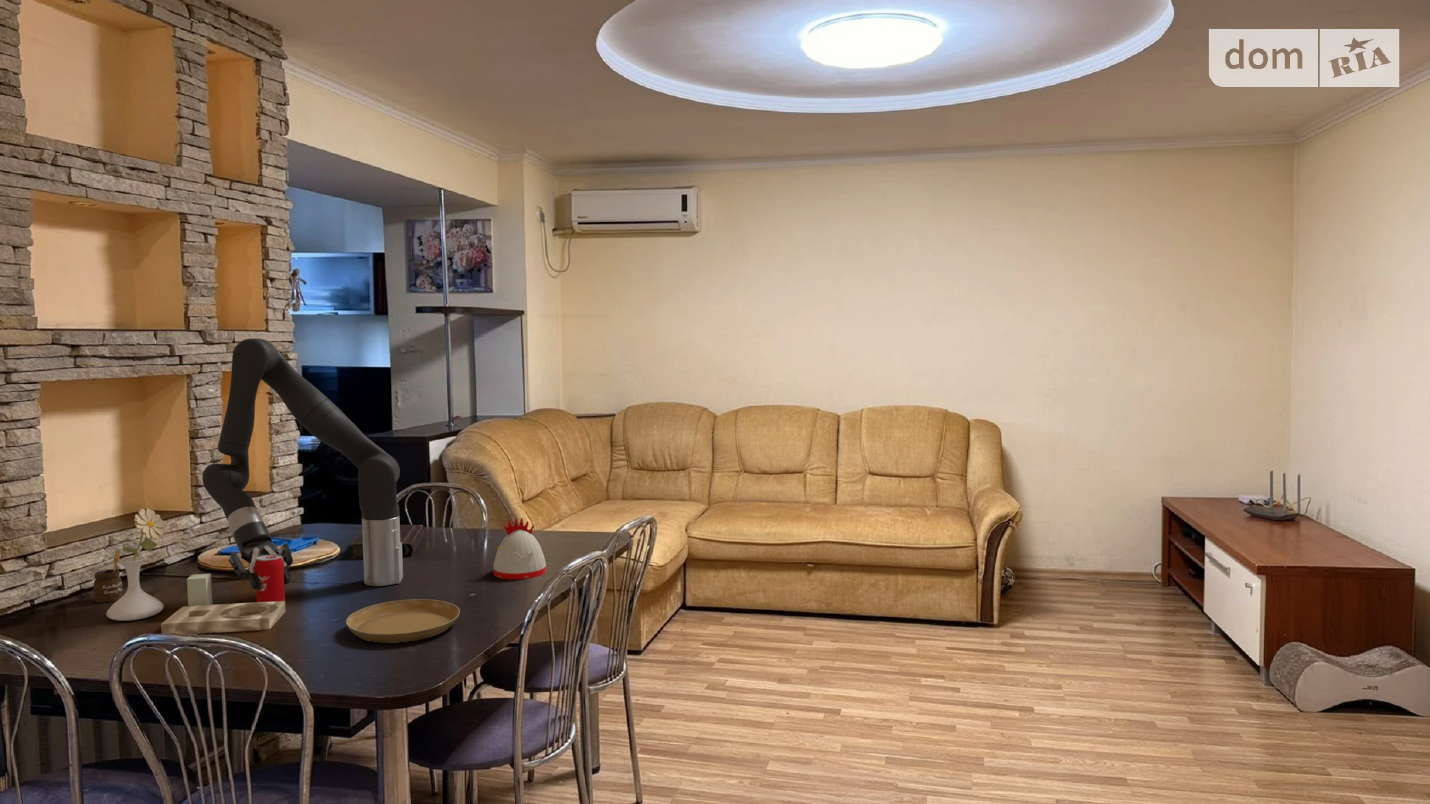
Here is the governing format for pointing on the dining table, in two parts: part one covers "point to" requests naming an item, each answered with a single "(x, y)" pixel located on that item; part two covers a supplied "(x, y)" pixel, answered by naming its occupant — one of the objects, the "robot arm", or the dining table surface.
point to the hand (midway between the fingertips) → (273, 585)
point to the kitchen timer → (519, 554)
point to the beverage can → (270, 578)
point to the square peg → (199, 590)
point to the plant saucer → (403, 620)
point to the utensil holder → (108, 583)
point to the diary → (408, 538)
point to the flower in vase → (135, 599)
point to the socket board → (224, 618)
